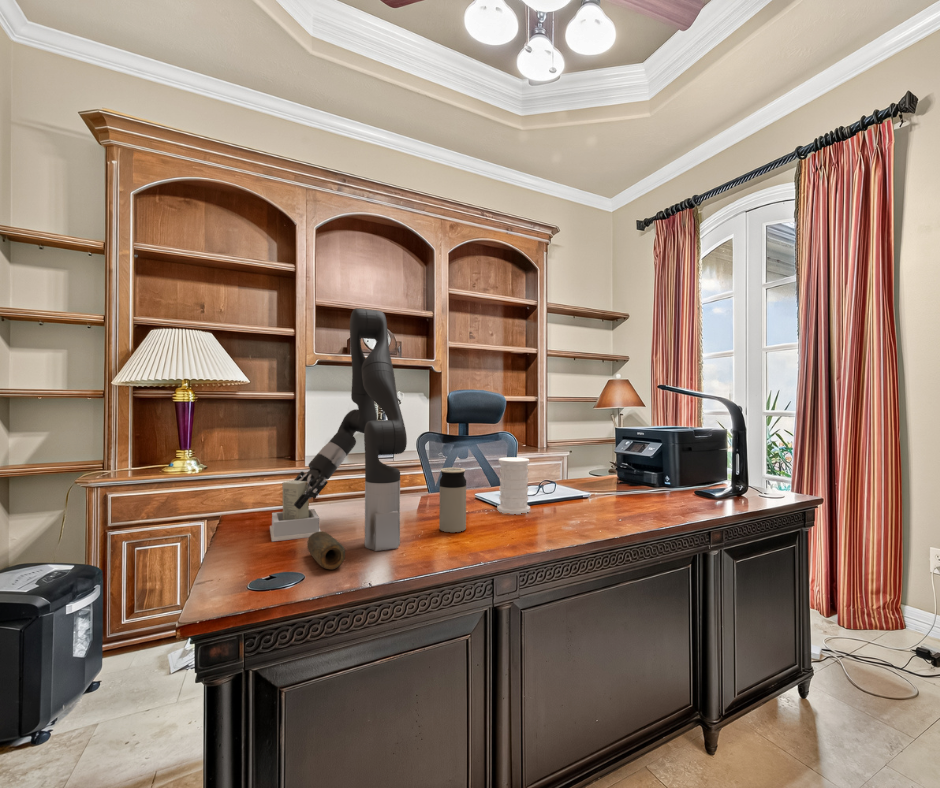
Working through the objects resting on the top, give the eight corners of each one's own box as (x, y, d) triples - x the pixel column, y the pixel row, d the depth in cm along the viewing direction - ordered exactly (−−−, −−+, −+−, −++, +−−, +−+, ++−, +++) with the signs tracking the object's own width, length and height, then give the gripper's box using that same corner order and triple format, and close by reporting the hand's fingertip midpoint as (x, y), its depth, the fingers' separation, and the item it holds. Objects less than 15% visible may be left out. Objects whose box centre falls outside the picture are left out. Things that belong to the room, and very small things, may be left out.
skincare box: (309, 523, 136) (309, 481, 136) (298, 526, 132) (298, 483, 132) (293, 520, 138) (293, 479, 138) (281, 524, 134) (281, 481, 134)
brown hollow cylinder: (351, 569, 107) (351, 539, 107) (320, 575, 103) (320, 545, 103) (330, 551, 119) (330, 525, 119) (302, 556, 115) (302, 529, 115)
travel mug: (462, 534, 134) (463, 471, 134) (436, 532, 136) (436, 470, 136) (468, 526, 142) (468, 467, 142) (443, 525, 144) (443, 466, 144)
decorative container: (509, 516, 155) (509, 462, 155) (491, 508, 165) (491, 458, 165) (537, 512, 161) (537, 460, 161) (517, 505, 171) (517, 456, 171)
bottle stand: (321, 535, 132) (321, 518, 132) (271, 541, 126) (272, 523, 126) (315, 524, 143) (315, 508, 144) (269, 529, 138) (270, 512, 138)
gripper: (308, 450, 145) (271, 493, 137) (331, 454, 135) (292, 501, 127) (324, 465, 149) (288, 508, 141) (347, 470, 139) (310, 517, 131)
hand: (290, 504), depth 134 cm, fingers closed on skincare box, 7 cm apart
